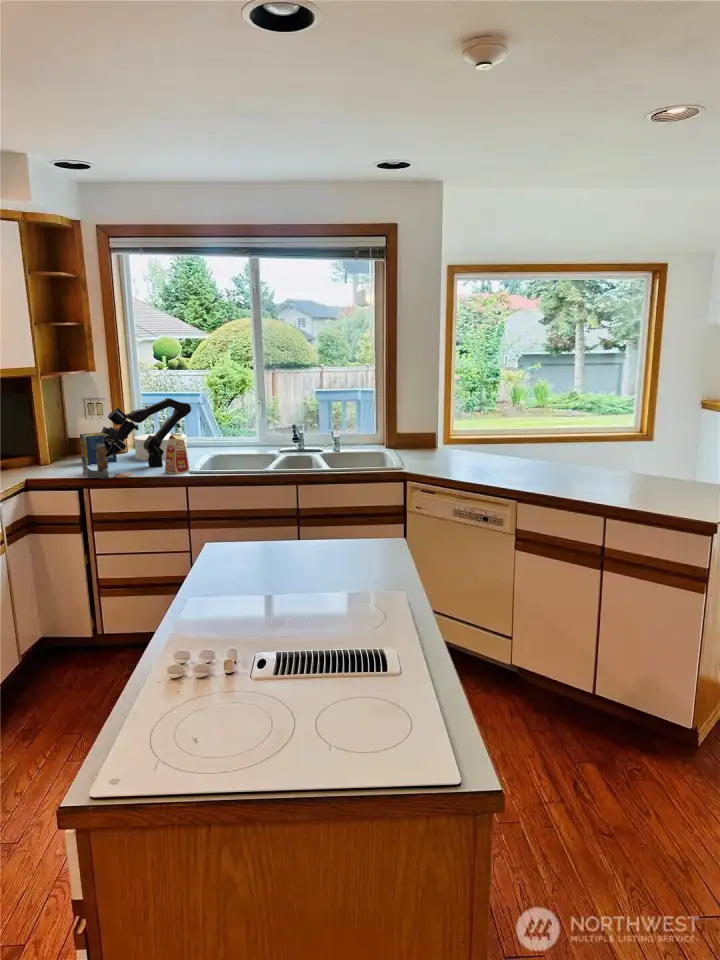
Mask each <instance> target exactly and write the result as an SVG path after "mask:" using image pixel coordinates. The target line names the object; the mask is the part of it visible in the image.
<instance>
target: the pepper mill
mask: <svg viewBox="0 0 720 960" xmlns="http://www.w3.org/2000/svg"><path fill="white" fill-rule="evenodd" d="M106 454H107V450H106V447H105V444H97V448H96V456H97V464H96V467H97V471H103V469H106V468H107V469H108V470H109V463H108V461H107V457H106V456H105V455H106Z"/></svg>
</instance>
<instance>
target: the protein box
mask: <svg viewBox="0 0 720 960" xmlns="http://www.w3.org/2000/svg"><path fill="white" fill-rule="evenodd" d="M101 432H102V431H101ZM101 432H91V433H80V434H79V442H80V443H79V444H80V451H81V462H83V464H87V466H92V465H91V464H96V465H97V456H96V448H97V444H104V443H103V437H104V436H105V435H108V434H104V433H101ZM107 452H108V451H107ZM117 460H118V459H117V453H115V454H113V455H111V456H109V457H107V461H108V462H113V463H117V462H118V461H117Z"/></svg>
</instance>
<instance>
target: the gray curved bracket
mask: <svg viewBox="0 0 720 960" xmlns="http://www.w3.org/2000/svg"><path fill="white" fill-rule="evenodd" d="M82 474H83V475H84V476H86V475H87V476H88V478H94V479H103V480H106V479H107V480H108V479H110V478H109V477H110V476H109V468H108V469H107V468H106V469H103V471H98V470H94V469H93V470H91V468H88V465H87V464H85V463H83V464H82ZM87 476H86V477H87Z"/></svg>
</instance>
